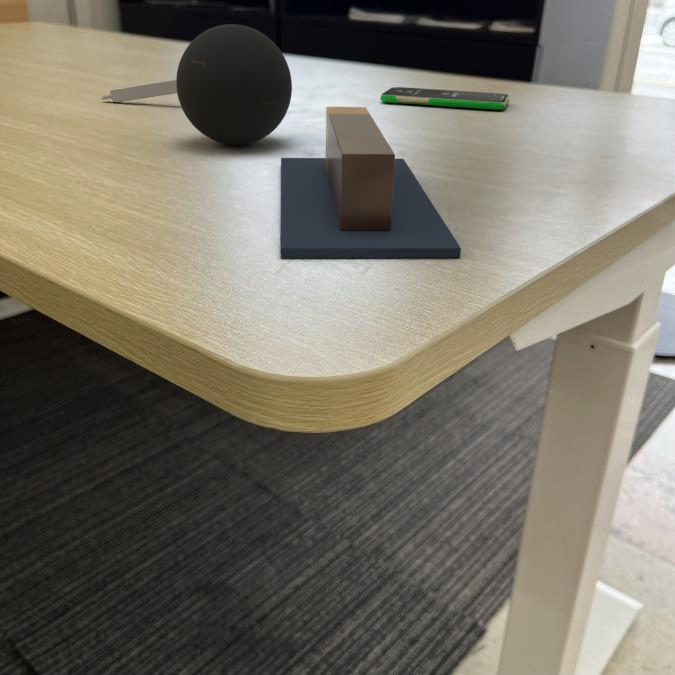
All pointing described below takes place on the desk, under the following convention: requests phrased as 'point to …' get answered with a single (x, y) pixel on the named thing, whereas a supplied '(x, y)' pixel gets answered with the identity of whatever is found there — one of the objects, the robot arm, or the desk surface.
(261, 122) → the speaker
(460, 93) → the smartphone
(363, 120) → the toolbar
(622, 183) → the desk surface
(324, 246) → the mat
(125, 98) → the caliper
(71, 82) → the desk surface
